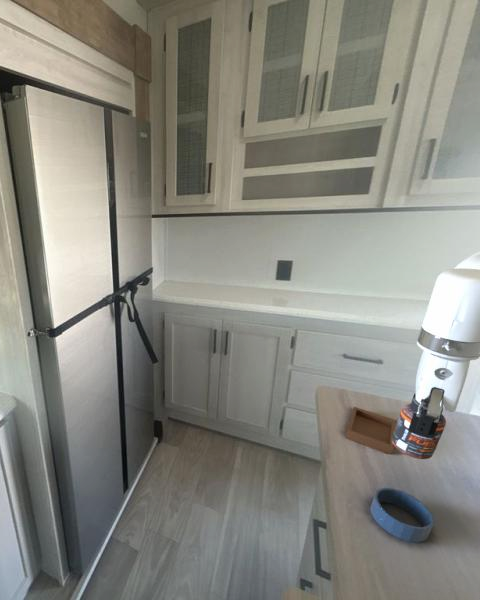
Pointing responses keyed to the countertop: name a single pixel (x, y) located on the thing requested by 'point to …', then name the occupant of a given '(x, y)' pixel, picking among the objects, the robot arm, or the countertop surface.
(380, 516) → the ring
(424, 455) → the supplement bottle
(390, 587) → the countertop surface
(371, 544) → the countertop surface
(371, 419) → the tray
